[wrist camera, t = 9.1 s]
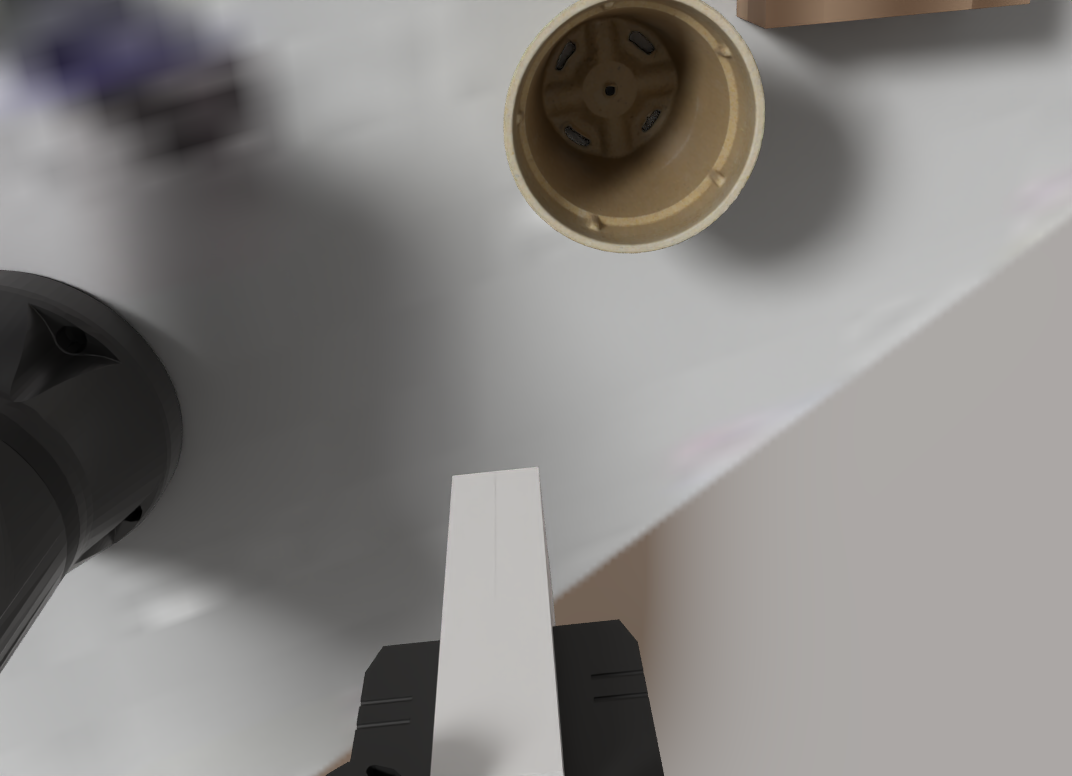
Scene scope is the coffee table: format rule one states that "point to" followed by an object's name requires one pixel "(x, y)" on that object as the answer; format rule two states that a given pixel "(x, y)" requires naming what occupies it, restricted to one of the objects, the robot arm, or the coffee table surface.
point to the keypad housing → (849, 9)
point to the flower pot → (634, 122)
